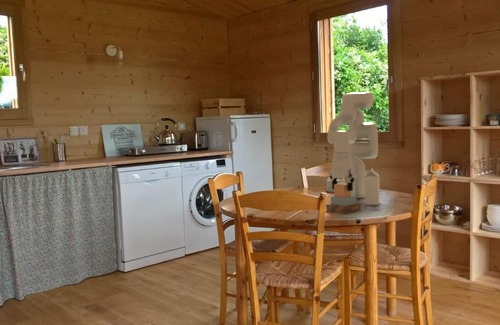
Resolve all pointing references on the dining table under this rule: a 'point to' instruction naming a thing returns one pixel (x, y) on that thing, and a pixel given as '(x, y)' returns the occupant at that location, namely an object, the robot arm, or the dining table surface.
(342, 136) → the robot arm
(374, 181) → the milk carton
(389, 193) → the dining table surface
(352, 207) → the base block
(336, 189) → the orange cube
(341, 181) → the lumpy-topped squat cylinder
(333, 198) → the grey square block
